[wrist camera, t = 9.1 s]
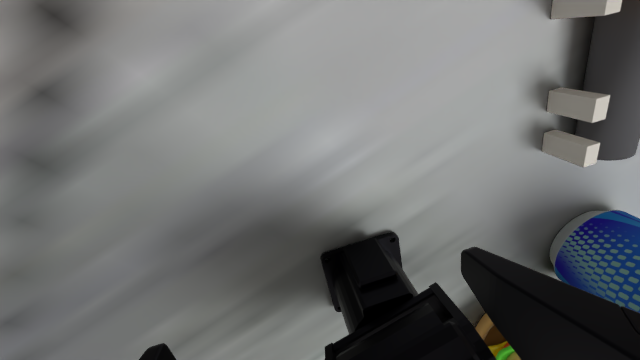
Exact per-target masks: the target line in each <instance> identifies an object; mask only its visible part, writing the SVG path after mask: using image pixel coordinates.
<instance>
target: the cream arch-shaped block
mask: <svg viewBox="0 0 640 360" xmlns="http://www.w3.org/2000/svg"><path fill="white" fill-rule="evenodd" d="M621 4H622V0H553V1H552V10H551V19H563V18H577V17H591V16H605V15H609V14H612V13H616V12H620V9H621Z"/></svg>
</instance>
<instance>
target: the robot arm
mask: <svg viewBox="0 0 640 360" xmlns="http://www.w3.org/2000/svg"><path fill="white" fill-rule="evenodd" d="M393 237H394V238H393ZM391 238H393V239H392V240H390V239H391ZM326 258H329V259H328V260H325V259H326ZM321 262H322V265H323V269H324V273H325V276H326V280H327V283H328V287H329V290H330V294H331V297H332V301H333V305H334V308H335V310H336V311H337V312H342V314H343V317H344V320H345V323H346V326H347V329H348V332H349V335H347V336H346V337H344V338H342V339H341V340H339V341H337V342H335V343H334V344H333V343H331V344H329V345H327V346H326V347H325V360H496V358H495V356H494V355H493V353H492V352H491V350H490V349H489V348H488V346H487V345H486V343H485V342H484V340H483V339H482V338H481V336H480V335H479V333H478V332H477V331H476V329H475V328H474V327H473V325H472V324H471V323H470V322H469V320H468V319H467V318H466V317H465V316H464V314H463V313H462V312H461V311H460V310H459V308H458V307H457V306H456V305H455V304H454V303H453V301H452V300H451V299H450V298H449V297H448V296H447V294H446V293H445V292H444V291H443V290H442V289H441V287H440V286H439V285H438V284H437V283H436V282H435V283H434V284H432V285H430V286H429V287H430V288H428V289H426V290H425V291H423V292H421V293H420V294H418V293H417V291H416V290H415V288H414V287H413V285H412V284H411V282H410V281H409V279H408V277H407V276H406V274H405V273H404V271H403V270H402V262H401V254H400V246H399V238H398V236H397V235H396V234H395V233H394V232H390V233H387V234H383V235H380V236H377V237H374V238H371V239H367V240H364V241H361V242H358V243H354V244H351V245H348V246H345V247H342V248H338V249H335V250H332V251H329V252H325V253H323V254H322V255H321ZM461 272H462V275H463V277H464V279H465V281H466V282H467V284H468V285H469V287H470V288H471V290H472V292H473V293H474V295H475V296H476V298H477V299H478V301H479V303H480V304H481V306H482V307H483V309H484V310H485V312H486V313H487V315H488V317H489V318H490V320H491V321H492V322H493V324H494V325H495V327H496V328H497V329H498V331H499V332H500V333H501V334H502V336H503V337H504V338H505V339H506V341H507V342H508V343H509V345H510V346H511V347H512V348H513V350H514V351H515V352H516V353H517V355H518V356H519V357H520V359H521V360H640V313H639V312H636V311H634V310H631V309H629V308H626V307H624V306H621V307H620V306H619V305H618V304H616V303H614V302H611V301H609V300H606V299H604V298H601V297H599V296H596V295H594V294H591V293H589V292H586V291H584V290H581V289H579V288H577V287H574V286H572V285H569V284H567V283H564V282H562V281H559V280H557V279H554V278H552V277H549V276H547V275H544V274H542V273H539V272H537V271H534V270H532V269H530V268H527V267H525V266H522V265H520V264H517V263H515V262H512V261H510V260H507V259H505V258H502V257H500V256H497V255H495V254H492V253H490V252H488V251H485V250H483V249H480V248H478V247H471V248H468V249H465V250H463V251H462V253H461ZM139 360H176V358H175V357H174V355H173V354H172V352H171V351H170V349H169V348H168V346H167V345H166V344H164V343H162V344H158V345H155V346H152V347H150V348H148V349H147V350H146V351H145V352H144V354H143V355H142V356H141V358H140V359H139Z"/></svg>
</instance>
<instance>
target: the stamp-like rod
mask: <svg viewBox="0 0 640 360" xmlns="http://www.w3.org/2000/svg"><path fill="white" fill-rule="evenodd" d="M583 91H588V92H594V93H601V94H607V95H610V99H609V104H608V109H607V114H606V118H605V119H604V120H600V121H597V122H594V123H590V122H586V121H582V120H578V121H577V127H576V133H575V135H576V136H579V137H583V138H586V139H589V140H593V141H596V142H599V143H600V147H599V152H598V156H597V160H622V159H627V158H630V157H632V156H634V155H635V153H636V149H637V146H638V142H639V138H640V0H622V4H621V9H620V12H616V13H612V14H609V15H605V16H595V21H594V27H593V33H592V39H591V45H590V51H589V56H588V62H587V68H586V74H585V80H584V86H583Z"/></svg>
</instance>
